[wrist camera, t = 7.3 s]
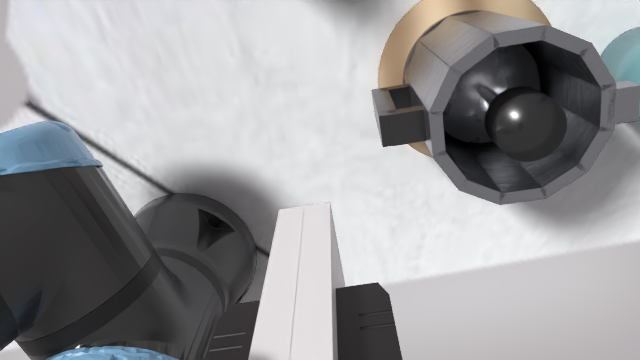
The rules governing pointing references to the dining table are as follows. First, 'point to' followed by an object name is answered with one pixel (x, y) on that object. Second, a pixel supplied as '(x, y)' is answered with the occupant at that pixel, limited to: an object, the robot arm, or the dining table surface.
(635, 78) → the mug
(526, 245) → the dining table surface
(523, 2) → the trivet
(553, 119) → the plunger
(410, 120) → the carafe
